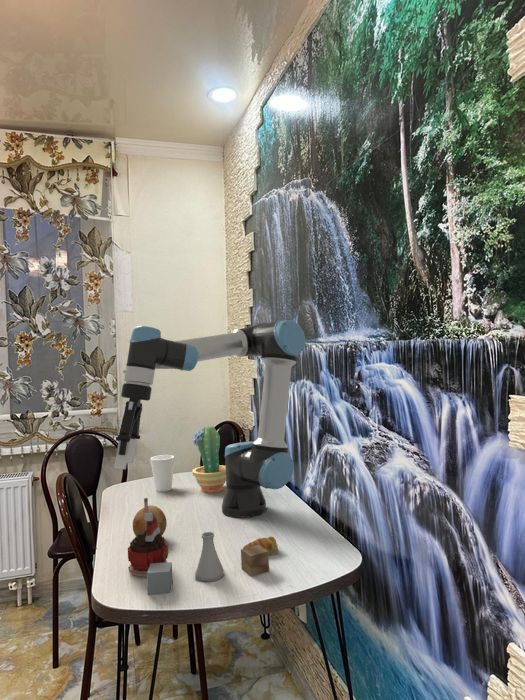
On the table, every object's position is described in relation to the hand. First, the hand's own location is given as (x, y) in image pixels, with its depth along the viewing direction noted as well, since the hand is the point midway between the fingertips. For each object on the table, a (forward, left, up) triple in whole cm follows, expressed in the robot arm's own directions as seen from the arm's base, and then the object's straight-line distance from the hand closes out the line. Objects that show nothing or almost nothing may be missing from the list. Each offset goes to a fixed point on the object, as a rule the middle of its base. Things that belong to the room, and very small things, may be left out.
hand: (124, 465), depth 124 cm
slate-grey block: (-6, +16, -26) cm, 31 cm away
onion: (-7, -15, -26) cm, 31 cm away
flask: (-18, +14, -26) cm, 35 cm away
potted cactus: (-36, -60, -26) cm, 74 cm away
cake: (-5, +5, -26) cm, 27 cm away
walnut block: (-29, +16, -26) cm, 42 cm away
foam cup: (-18, -69, -26) cm, 75 cm away
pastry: (-34, +7, -26) cm, 44 cm away
